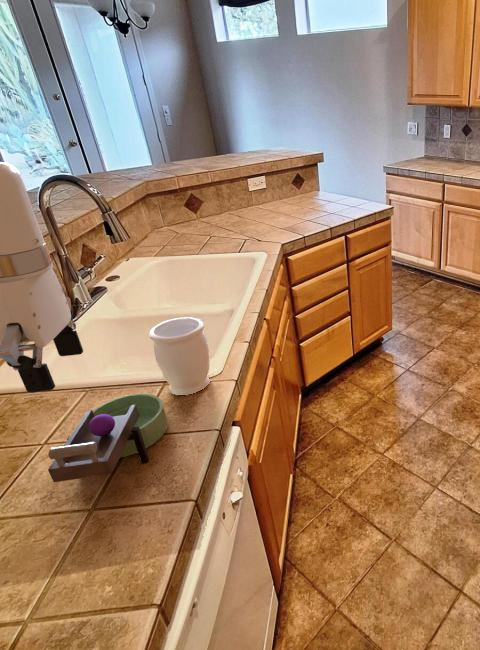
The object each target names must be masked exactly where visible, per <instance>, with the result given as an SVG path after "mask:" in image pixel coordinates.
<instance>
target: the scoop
mask: <svg viewBox="0 0 480 650" xmlns="http://www.w3.org/2000/svg"><path fill="white" fill-rule="evenodd" d="M94 417H95V416H94V414H93V409H88V410H86V411H85V413H84V414H83V416H82V418H81V419H80V420H79V422H78V423H77V425H76V427H75V428H74V430H73V431H72V433H71V434H70V435H71V436H70V435H69V436H70V437H69V436H68V437H69V439H68V440H67V439H66V442H65V443H64V445H62V446H55V447H51V448H50V449H49V450H48V457H49V459H50V460H53V461H52V462H51V464H50V465H49V467H48V469H47V471H48V473H49V475H50V477H51V479H52V482H53V483H59V482H65V481H73V480H78V479H84V478H85V479H86V478H92V477H98V476H105V475H111V474H112V473H113V471H114V469H115V467H116V465H117V463H118V461H119V460H120V458H121V457H120V455H121V453H122V451H123V449H124V447H125V445H126V443H127V440H128V438H129V436H130V434H131V430H132V428H133V427H134V426H135V424H136V422H137V420H138V418H139V413H138V410H137V407H136V405H131V406H130V408H129V410H128V412H127V414H126V415H122V416H114V417H113V419H114V421H115V427H114V429H113V430H112V431H111V432H110V433H109V434H107V435H105V436H96V435H94V434H92V433H91V432H90V430H89V424H90V422H91V420H92V419H93V418H94ZM119 457H120V458H119Z"/></svg>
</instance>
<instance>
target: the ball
mask: <svg viewBox="0 0 480 650" xmlns="http://www.w3.org/2000/svg"><path fill="white" fill-rule="evenodd" d="M114 427H115V421H114V419H113V417H112V416H110V415H107V414H100V415H98V416H96V417H94V418H93V419H92V420H91V422H90V424H89V430H90V432H91V433H92V434H94V435H96V436H105V435H107V434H109V433H110V432H111V431H112V430H113V429H114Z"/></svg>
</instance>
